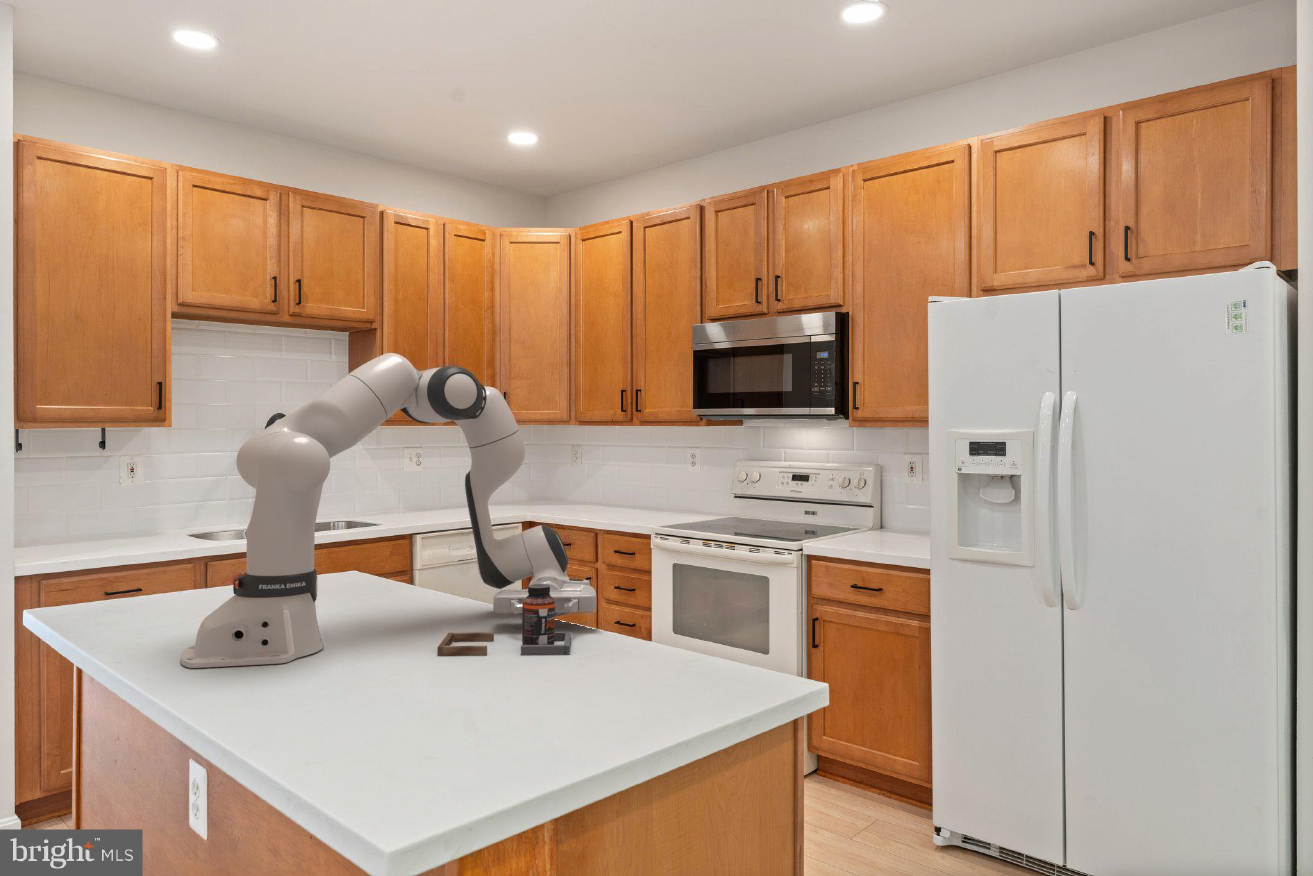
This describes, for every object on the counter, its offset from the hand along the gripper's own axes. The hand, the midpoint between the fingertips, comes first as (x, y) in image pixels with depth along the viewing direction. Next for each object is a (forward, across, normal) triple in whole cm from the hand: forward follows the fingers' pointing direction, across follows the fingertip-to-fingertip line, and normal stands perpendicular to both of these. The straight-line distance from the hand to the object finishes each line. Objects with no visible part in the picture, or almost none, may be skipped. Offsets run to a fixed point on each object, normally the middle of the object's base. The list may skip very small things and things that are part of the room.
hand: (543, 609), depth 160 cm
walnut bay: (+6, -13, +6) cm, 16 cm away
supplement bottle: (+6, 0, +6) cm, 8 cm away
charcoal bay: (+6, +1, +6) cm, 8 cm away
